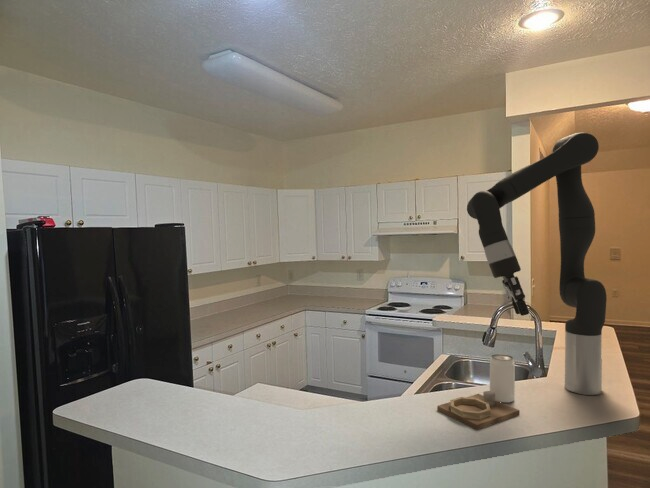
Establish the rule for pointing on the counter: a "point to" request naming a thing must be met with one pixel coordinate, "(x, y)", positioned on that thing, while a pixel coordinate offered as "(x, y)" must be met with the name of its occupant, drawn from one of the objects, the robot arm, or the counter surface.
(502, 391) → the can
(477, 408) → the board
